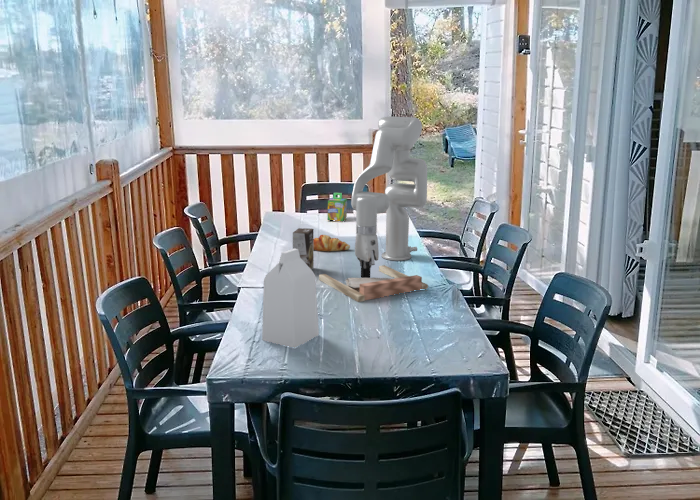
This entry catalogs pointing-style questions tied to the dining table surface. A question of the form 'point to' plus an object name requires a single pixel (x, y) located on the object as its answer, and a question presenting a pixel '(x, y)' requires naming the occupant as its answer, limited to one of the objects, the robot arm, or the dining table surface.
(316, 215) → the dining table surface
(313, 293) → the milk
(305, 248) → the coffee box
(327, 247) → the croissant
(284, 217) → the dining table surface
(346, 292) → the wooden frame
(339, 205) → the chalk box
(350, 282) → the washcloth
